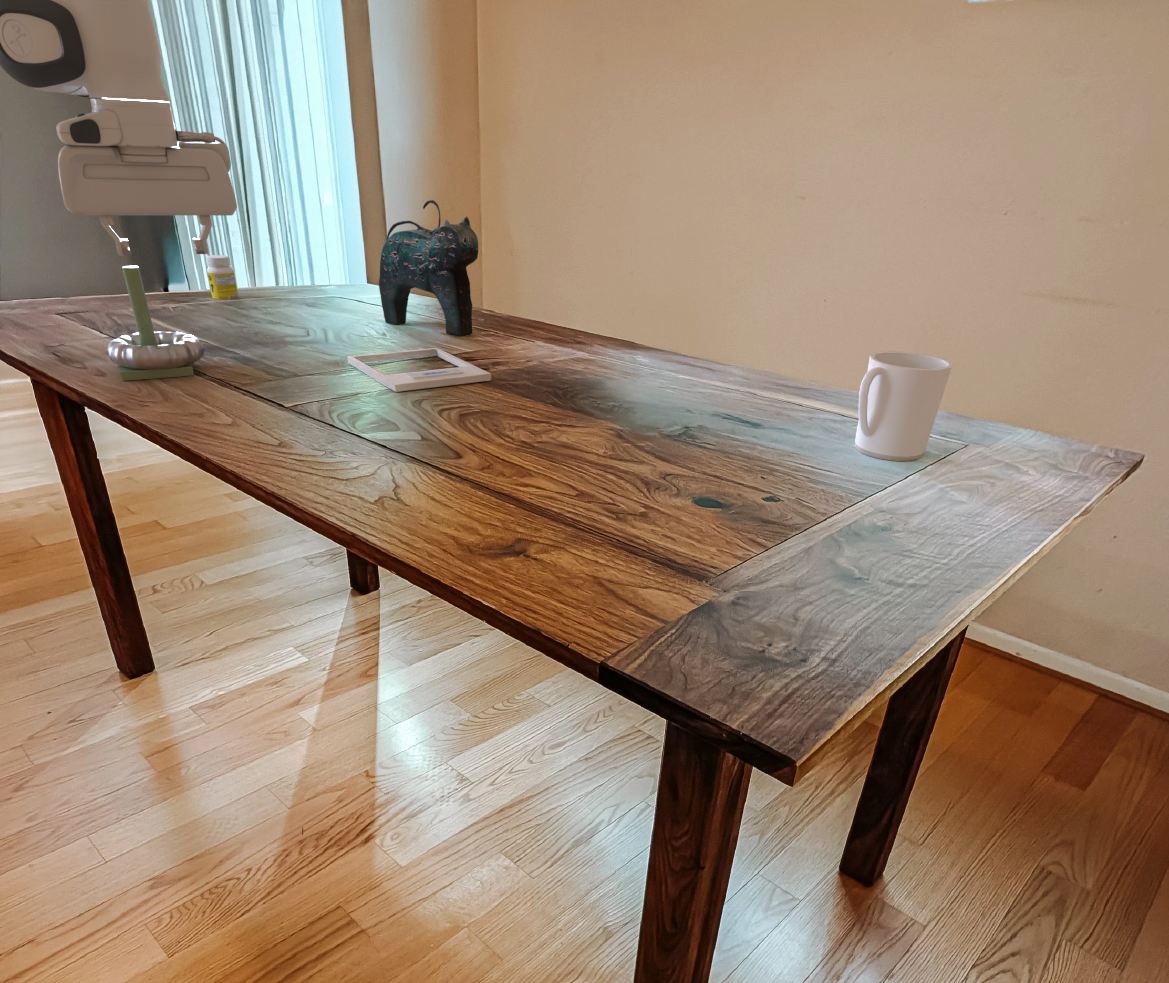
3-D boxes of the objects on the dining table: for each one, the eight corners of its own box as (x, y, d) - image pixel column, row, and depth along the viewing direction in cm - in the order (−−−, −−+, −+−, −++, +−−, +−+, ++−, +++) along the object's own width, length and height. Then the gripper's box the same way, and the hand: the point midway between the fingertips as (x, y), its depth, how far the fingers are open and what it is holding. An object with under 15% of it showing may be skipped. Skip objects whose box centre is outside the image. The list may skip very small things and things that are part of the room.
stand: (122, 381, 110) (93, 272, 102) (117, 366, 116) (90, 263, 109) (194, 375, 113) (171, 270, 106) (186, 361, 120) (163, 261, 113)
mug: (888, 435, 103) (910, 349, 97) (943, 457, 96) (970, 366, 91) (821, 445, 98) (839, 355, 93) (874, 468, 92) (897, 374, 86)
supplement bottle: (214, 303, 158) (204, 254, 153) (240, 303, 159) (231, 254, 154) (213, 307, 154) (203, 258, 149) (239, 307, 155) (230, 258, 150)
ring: (114, 375, 108) (108, 351, 106) (108, 355, 116) (102, 332, 115) (211, 367, 113) (206, 344, 111) (198, 349, 121) (193, 327, 120)
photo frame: (394, 383, 109) (346, 355, 122) (395, 391, 110) (347, 362, 122) (490, 372, 116) (436, 346, 129) (491, 380, 117) (437, 353, 129)
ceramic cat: (484, 334, 144) (480, 203, 133) (461, 339, 139) (455, 204, 128) (398, 318, 152) (387, 194, 141) (374, 324, 147) (361, 195, 136)
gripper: (221, 132, 107) (242, 250, 115) (42, 124, 99) (77, 252, 107) (229, 133, 103) (250, 256, 111) (43, 125, 94) (79, 259, 102)
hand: (164, 254), depth 109 cm, fingers open, 8 cm apart
